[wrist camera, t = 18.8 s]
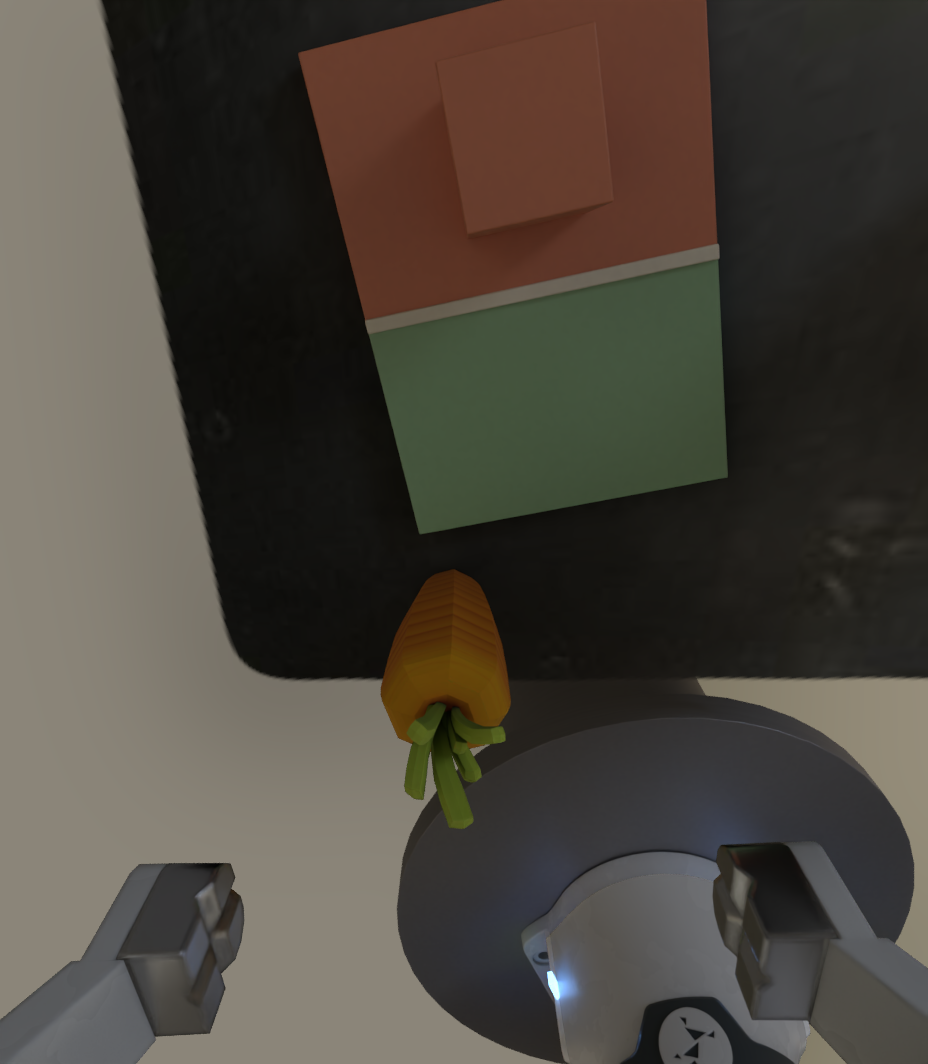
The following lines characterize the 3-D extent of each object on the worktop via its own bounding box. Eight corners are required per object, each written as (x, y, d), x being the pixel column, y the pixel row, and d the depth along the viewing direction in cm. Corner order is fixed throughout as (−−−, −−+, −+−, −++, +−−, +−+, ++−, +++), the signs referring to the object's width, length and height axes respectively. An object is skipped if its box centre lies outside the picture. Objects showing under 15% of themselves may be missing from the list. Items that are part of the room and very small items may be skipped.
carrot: (408, 527, 32) (362, 726, 19) (505, 536, 32) (531, 740, 19) (402, 612, 34) (357, 849, 20) (493, 620, 34) (510, 861, 21)
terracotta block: (588, 212, 26) (614, 202, 21) (467, 239, 26) (466, 235, 22) (571, 65, 24) (596, 19, 19) (441, 98, 24) (434, 60, 20)
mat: (720, 471, 31) (729, 478, 30) (421, 527, 32) (419, 536, 31) (695, -41, 23) (706, -56, 22) (303, 60, 25) (295, 50, 24)
